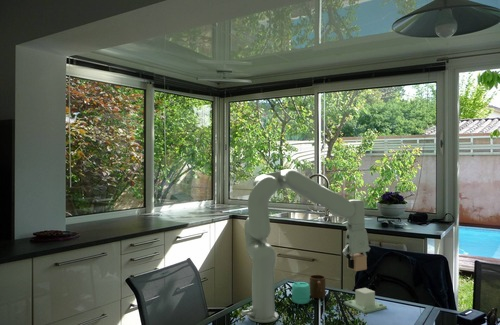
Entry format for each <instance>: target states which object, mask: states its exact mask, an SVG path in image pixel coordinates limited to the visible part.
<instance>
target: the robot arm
mask: <svg viewBox="0 0 500 325" xmlns="http://www.w3.org/2000/svg"><path fill="white" fill-rule="evenodd" d="M283 189H289V190H291V191H293V192H294V193H296V194H297V195H299V196H301V197H302V198H304V199H305V200H307V201H309V202H311V203H313V204H317V205H318V206H321V207H324V208H326V209H328V211H329V213H330V214H331V215H333V216H335V217H339V218H343V219H346V221H347V222H346V223H347V225H345V228H346V229H347V230H346V232H345V243H344V244H345V246H344V248H343V250H342V254H343V255H344V256H345V258H346V260H347V259H348V267H349V268H351V269H354V260H353V256H354V254H357V253H359V254H362V255H365V256H367V257H368V254H369V252H370V250H371V247H370V246H369V236H368V232H367V229H366V228H365V227H366V223H365V221H366V220H365V219H366V218H365V216H366V215H365V201H364V200H363V199H359V198H351V199H347V198H345V197H344V196H342V195H340V194H339V193H337V192H335V191H333V190H332V189H329V188H327V187H326V186H324V185H322V184H320V183H319V182H316V181H315V180H313V179H311V178H310V177H309V176H307V175H305V174H304V173H303V172H300V171H298V170H297V169H293V168H287V169H286V168H284V169H280V170H278V171H273V172H267V173H263V174H259V175H257V176H256V177H255V179H254V181H253V188H252V189H251V192H250V193H249V196H248V201H247V211H248V216H247V218H246V220H245V221H244V229H243V230H244V237H245V247H246V252H247V254H248V256H249V257H250V259H251V260H252V268H251V305H250V306H249V308H248V309H246V310H242V311H241V312H240V313H241V316H242V317H243V316H247V317H248V318H249V320H250V321H252V322H255V323H259V324H260V323H261V324H263V323H264V324H265V323H266V324H267V323H273V322H276V321H277V320H278V319H279V313H278V312H277V311H276V307H275V304H276V302H275V295H276V294H275V267H276V257H277V255H276V252H275V249H274V247H273V246H272V245H271V244H270V243H269V242H267V238H268V237H269V236H270V234H271V222H270V221H271V220H270V216H269V215H270V212H269V201H270V199H271V197H272V196H273V195H274V194H276V192H277V191H279V190H283ZM350 254H351V256H350ZM349 268H348V269H349ZM351 269H350V270H351Z"/></svg>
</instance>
